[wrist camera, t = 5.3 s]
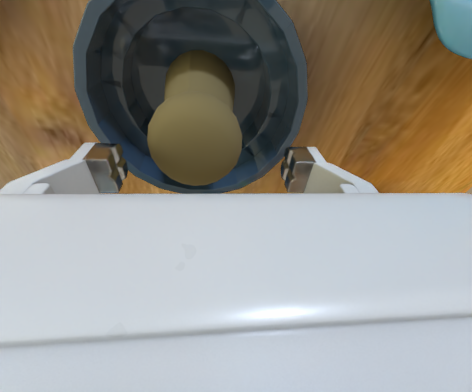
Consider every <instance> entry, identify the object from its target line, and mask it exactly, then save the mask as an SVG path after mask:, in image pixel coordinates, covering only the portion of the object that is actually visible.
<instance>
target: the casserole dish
mask: <svg viewBox="0 0 472 392" xmlns="http://www.w3.org/2000/svg"><path fill="white" fill-rule="evenodd" d="M429 1H430V4H431V8H432V15H433V22H434V27H435V30H436V33H437V35H438V38H439V40H440V41H441V43H442V44H443V45H444V46H445V47H446V48H447V49H448V50H450V51H451V52H453V53H455V54H457V55H460V56H462V57H465V58H469V59H472V0H429Z"/></svg>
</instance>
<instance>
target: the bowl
mask: <svg viewBox="0 0 472 392" xmlns="http://www.w3.org/2000/svg"><path fill="white" fill-rule="evenodd" d="M190 50H204V51H206V52H209V53H212V54H215V55H216V56H217V57H218V58H220V59H221V60H222V61H224V62H225V64H226V65H227V67H228V68H229V70H230V71H231V73H232V76H233V80H234V83H235V98H234V105H233V114H234V115H235V116H236V118H237V121H238V124H239V127H240V130H241V133H242V149H241V153H240V156H239V158H238V161H237V164H236V165H235V166H234V168H233V169H232V170H231V171H230V172H229V174H227V175H226V176H224V177H223V178H221V179H220V180H218V181H217V182H214V183H211V184H208V185H199V186H192V185H187V184H182V183H180V182H178V181H175V180H173V179H171V178H170V177H169V176H167V175H166V174H165V173H164V172H162V171H161V170H160V169H159V167H158V166H157V165H156V163H155V162H154V160H153V159H152V157H151V154H150V150H149V147H148V142H147V135H148V125H149V123H150V121H151V119H152V117H153V115H154V113H155V111H156V109H157V107H158V106H160V105H161V104H162V103H163V102H164V94H165V79H166V73H167V71H168V69H169V67H170V65H171V63H172V62H173V61H174V60H175V59H176V58H177V57H178V56H179V55H181V54H183V53H186V52H188V51H190ZM73 64H74V87H75V91H76V94H77V97H78V99H79V102H80V105H81V108H82V110H83V113H84V116H85V118H86V121H87V124H88V126H89V127H90V129H91V130H92V131H93V133H94V134H95V136H96V137H97V138H98V140H99V141H100V142H101V143H115V144H120V145H121V146H122V149H123V154H122V157H123V158H124V159H125V160H126V162H127V166H128V170H129V171H130V172H131V173H132V174H133V175H135V176H136V177H138V178H140V179H142V180H144V181H146V182H148V183H150V184H152V185H154V186H156V187H159V188H162V189H164V190H169V191H173V192H177V193H182V194H220V193H225V192H229V191H233V190H237V189H240V188H242V187H244V186H246V185H248V184H250V183H252V182H254V181H256V180H257V179H259V178H261V177H263V176H264V175H265V174H266V173H267V172H268V171H270V170H271V169H272V168H273V167H274V166H275V165H276V164H277V163H278V162H279V161H280V160H281V159H282V158H283V157H284V151H285V149H286V147H290V146H291V144H292V143H293V141H294V139H295V138H296V136H297V135H298V133H299V130H300V126H301V123H302V119H303V115H304V112H305V108H306V105H307V100H308V89H307V63H306V58H305V55H304V53H303V50H302V47H301V44H300V41H299V38H298V35H297V32H296V30H295V27H294V24H293V22H292V20H291V19H290V17H289V16H288V15H287V14H286V12H285V11H284V10H283V8H282V7H281V6H280V5H279V3H278V2H277V1H276V0H89V2H88V3H87V5H86V8H85V11H84V14H83V17H82V20H81V23H80V26H79V29H78V32H77V35H76V38H75V41H74V44H73Z"/></svg>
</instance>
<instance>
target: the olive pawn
mask: <svg viewBox="0 0 472 392" xmlns="http://www.w3.org/2000/svg"><path fill="white" fill-rule="evenodd" d="M234 98H235V83H234V80H233V76H232V73H231V71H230V70H229V68H228V67H227V65H226V64H225V62H224V61H222V60H221V59H220V58H218V57H217V56H216V55H215V54H212V53H209V52H206V51H204V50H190V51H188V52H186V53H183V54H181V55H179V56H178V57H177V58H176V59H175V60H174V61H173V62H172V63H171V65H170V67H169V69H168V71H167V73H166V79H165V94H164V102H163V103H162V104H161V105H160V106H158V107H157V109H156V111H155V113H154V115H153V117H152V119H151V121H150V123H149V125H148V135H147V142H148V147H149V150H150V154H151V157H152V159H153V160H154V162H155V163H156V165H157V166H158V167H159V169H160V170H161V171H162V172H164V173H165V174H166V175H167V176H169V177H170V178H171V179H173V180H175V181H178V182H180V183H182V184H187V185H192V186H199V185H208V184H211V183H214V182H217V181H218V180H220V179H221V178H223V177H224V176H226V175H227V174H229V172H230V171H231V170H232V169H233V168H234V166H235V165H236V164H237V161H238V158H239V156H240V153H241V149H242V133H241V130H240V127H239V124H238V121H237V118H236V116H235V115H234V114H233V105H234Z"/></svg>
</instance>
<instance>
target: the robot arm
mask: <svg viewBox="0 0 472 392" xmlns="http://www.w3.org/2000/svg"><path fill="white" fill-rule="evenodd" d="M122 154H123V149H122V146H121V145H120V144H115V143H84V144H83V145H82V146H81V147H80V148H79V149H78V150H77V151H76V152H75V154H74V155H73V156H72V157H71V158H70V159H69V160H63V161H61V162H58V163H56V164H53V165H51V166H48V167H46V168H43V169H41V170H38V171H36V172H33V173H31V174H28V175H26V176H23V177H21V178H18V179H16V180H13V181H11V182H8V183H7V184H6V185H5V186H4V187H3V188H2V189H0V392H472V194H468V193H379V192H378V191H377V190H376V188H375V187H374V186H373V185H372V184H371V183H369V182H367V181H365V180H363V179H361V178H359V177H357V176H355V175H353V174H351V173H349V172H347V171H345V170H343V169H341V168H339V167H337V166H335V165H333V164H331V163H327V162H326V161H325V159H324V158H323V156H322V155H321V154H320V152H319V151H318V149H317V148H316V147H286V149H285V151H284V156H285V160H284V161H283V162H282V165H281V177H282V179H283V180H285V187H286V189H287V192H290V193H264V194H100V193H119V191H120V189H121V187H122V185H123V183H122V180H124V179H125V178H126V176H127V173H128V166H127V162H126V160H125V159H124V158H123V157H122Z"/></svg>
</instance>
